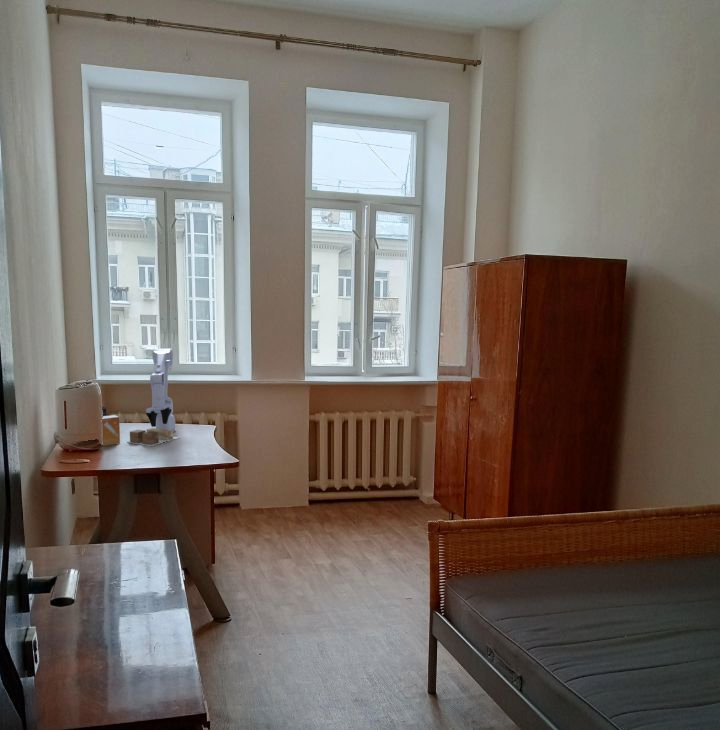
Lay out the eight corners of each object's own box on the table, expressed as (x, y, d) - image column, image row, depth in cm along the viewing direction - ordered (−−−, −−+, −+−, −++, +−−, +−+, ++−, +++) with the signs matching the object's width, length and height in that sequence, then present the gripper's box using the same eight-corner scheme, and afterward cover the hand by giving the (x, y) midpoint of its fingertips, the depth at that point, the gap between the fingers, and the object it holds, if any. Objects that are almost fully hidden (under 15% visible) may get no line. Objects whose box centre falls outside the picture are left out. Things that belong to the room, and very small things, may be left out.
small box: (102, 446, 262) (101, 418, 261) (98, 444, 267) (96, 416, 265) (120, 443, 268) (119, 416, 266) (115, 441, 272) (114, 414, 271)
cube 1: (138, 439, 274) (137, 429, 273) (145, 440, 272) (145, 430, 271) (130, 441, 269) (129, 431, 269) (137, 442, 267) (137, 432, 266)
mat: (154, 435, 286) (154, 434, 286) (179, 438, 279) (179, 437, 279) (127, 442, 269) (126, 441, 269) (152, 446, 263) (152, 445, 263)
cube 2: (150, 441, 270) (150, 431, 270) (158, 442, 268) (158, 431, 268) (142, 443, 266) (142, 433, 265) (150, 444, 264) (150, 434, 263)
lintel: (152, 435, 282) (152, 427, 282) (172, 438, 277) (172, 430, 276) (146, 437, 279) (146, 429, 278) (167, 439, 273) (166, 431, 273)
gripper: (153, 400, 268) (154, 428, 269) (175, 396, 281) (176, 423, 282) (142, 399, 270) (143, 427, 272) (164, 395, 284) (165, 422, 285)
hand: (159, 425), depth 277 cm, fingers open, 7 cm apart
